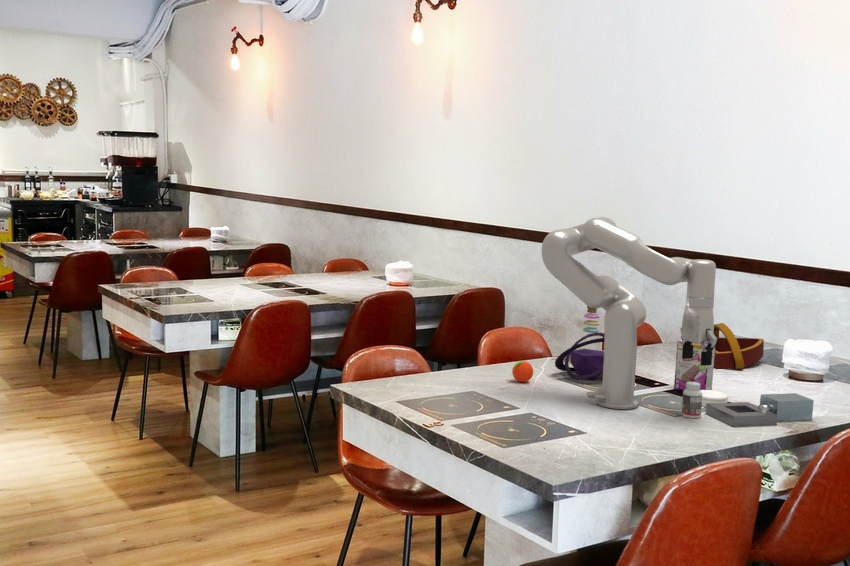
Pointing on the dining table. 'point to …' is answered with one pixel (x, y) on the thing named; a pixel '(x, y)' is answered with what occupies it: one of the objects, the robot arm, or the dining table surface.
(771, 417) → the grey tray with housing
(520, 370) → the clementine
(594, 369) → the decorative bottle
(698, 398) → the pill bottle
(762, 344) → the decorative basket
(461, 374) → the dining table surface
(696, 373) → the candy bar box
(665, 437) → the dining table surface
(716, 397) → the white round disc
